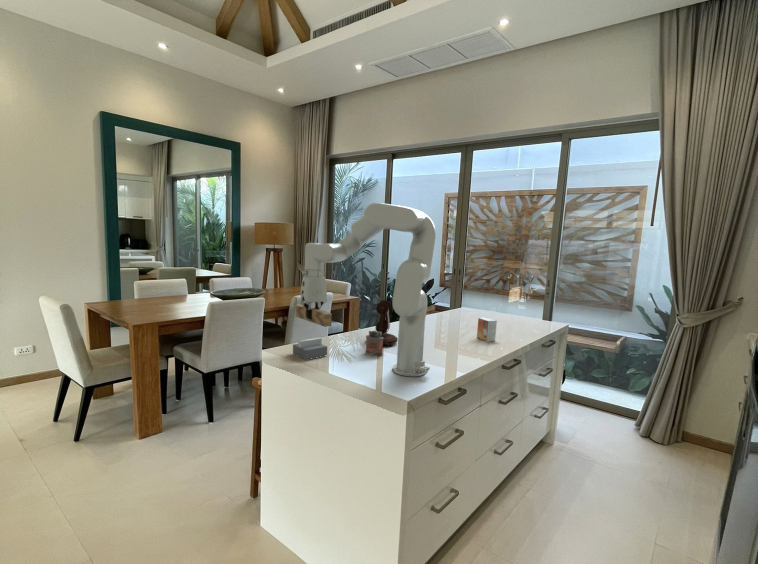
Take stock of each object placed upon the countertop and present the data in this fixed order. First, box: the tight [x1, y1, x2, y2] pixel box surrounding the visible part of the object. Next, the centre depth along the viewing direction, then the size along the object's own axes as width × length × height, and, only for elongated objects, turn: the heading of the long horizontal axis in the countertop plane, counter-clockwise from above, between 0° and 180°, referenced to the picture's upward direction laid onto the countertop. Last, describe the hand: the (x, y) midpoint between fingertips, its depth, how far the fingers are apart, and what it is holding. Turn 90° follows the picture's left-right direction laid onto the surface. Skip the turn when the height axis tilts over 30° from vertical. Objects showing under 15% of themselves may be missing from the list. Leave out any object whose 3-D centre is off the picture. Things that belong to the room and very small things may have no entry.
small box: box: [476, 317, 498, 342], centre depth 202 cm, size 8×6×10 cm
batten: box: [294, 304, 333, 328], centre depth 161 cm, size 22×3×5 cm, turn 42°
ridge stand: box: [292, 337, 328, 361], centre depth 162 cm, size 10×10×6 cm
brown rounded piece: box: [375, 299, 398, 347], centre depth 185 cm, size 15×15×20 cm
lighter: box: [364, 329, 384, 357], centre depth 167 cm, size 8×3×10 cm, turn 62°
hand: (312, 317), depth 161 cm, fingers closed on batten, 2 cm apart
